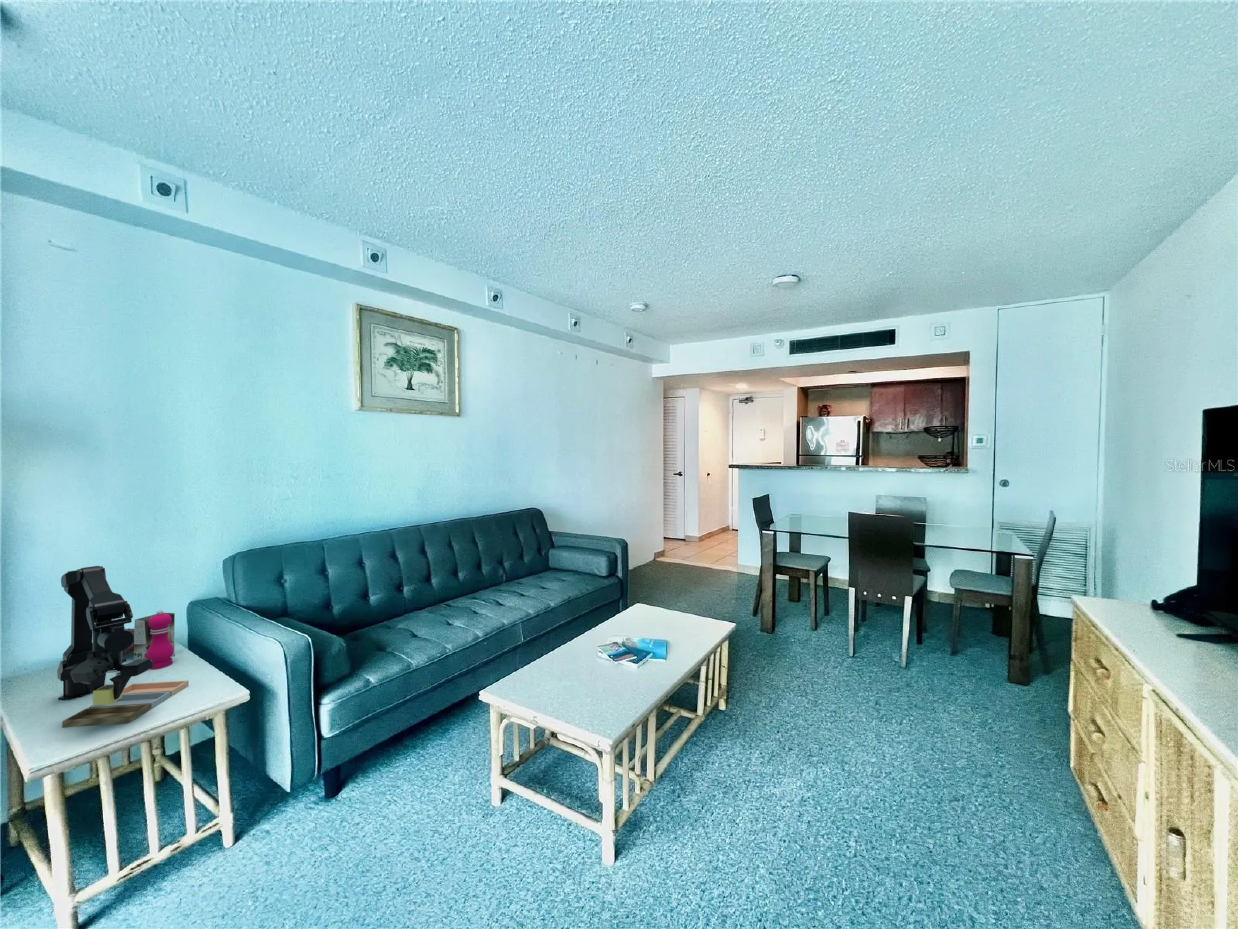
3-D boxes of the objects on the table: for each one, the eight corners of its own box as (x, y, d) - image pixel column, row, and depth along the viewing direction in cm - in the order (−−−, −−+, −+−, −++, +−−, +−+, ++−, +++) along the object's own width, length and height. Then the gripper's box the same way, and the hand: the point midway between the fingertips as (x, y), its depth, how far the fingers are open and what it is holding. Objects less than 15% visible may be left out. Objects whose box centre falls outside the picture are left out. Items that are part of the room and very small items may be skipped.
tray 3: (112, 701, 144) (112, 694, 144) (132, 690, 151) (132, 683, 151) (171, 698, 147) (171, 690, 147) (188, 687, 154) (188, 680, 154)
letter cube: (93, 705, 132) (92, 690, 132) (106, 698, 136) (106, 684, 136) (109, 704, 132) (109, 689, 132) (122, 697, 136) (122, 683, 136)
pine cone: (149, 656, 177) (149, 630, 177) (110, 666, 169) (110, 638, 169) (139, 645, 188) (139, 620, 188) (102, 654, 180) (102, 627, 180)
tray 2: (88, 714, 137) (88, 707, 137) (110, 702, 144) (110, 695, 144) (151, 710, 139) (151, 703, 139) (170, 698, 146) (170, 691, 146)
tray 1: (62, 729, 129) (62, 721, 129) (87, 715, 136) (86, 708, 136) (129, 724, 132) (129, 716, 132) (150, 711, 139) (150, 704, 139)
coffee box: (147, 665, 170) (146, 620, 169) (133, 664, 171) (133, 619, 171) (175, 655, 178) (175, 612, 178) (162, 654, 180) (162, 611, 180)
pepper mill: (146, 672, 164) (146, 614, 164) (145, 665, 169) (145, 610, 169) (175, 665, 170) (174, 609, 170) (172, 659, 175) (172, 605, 175)
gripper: (38, 658, 125) (39, 717, 125) (120, 654, 127) (120, 712, 127) (80, 642, 136) (80, 696, 136) (154, 638, 138) (154, 692, 138)
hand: (107, 699), depth 134 cm, fingers closed on letter cube, 4 cm apart
